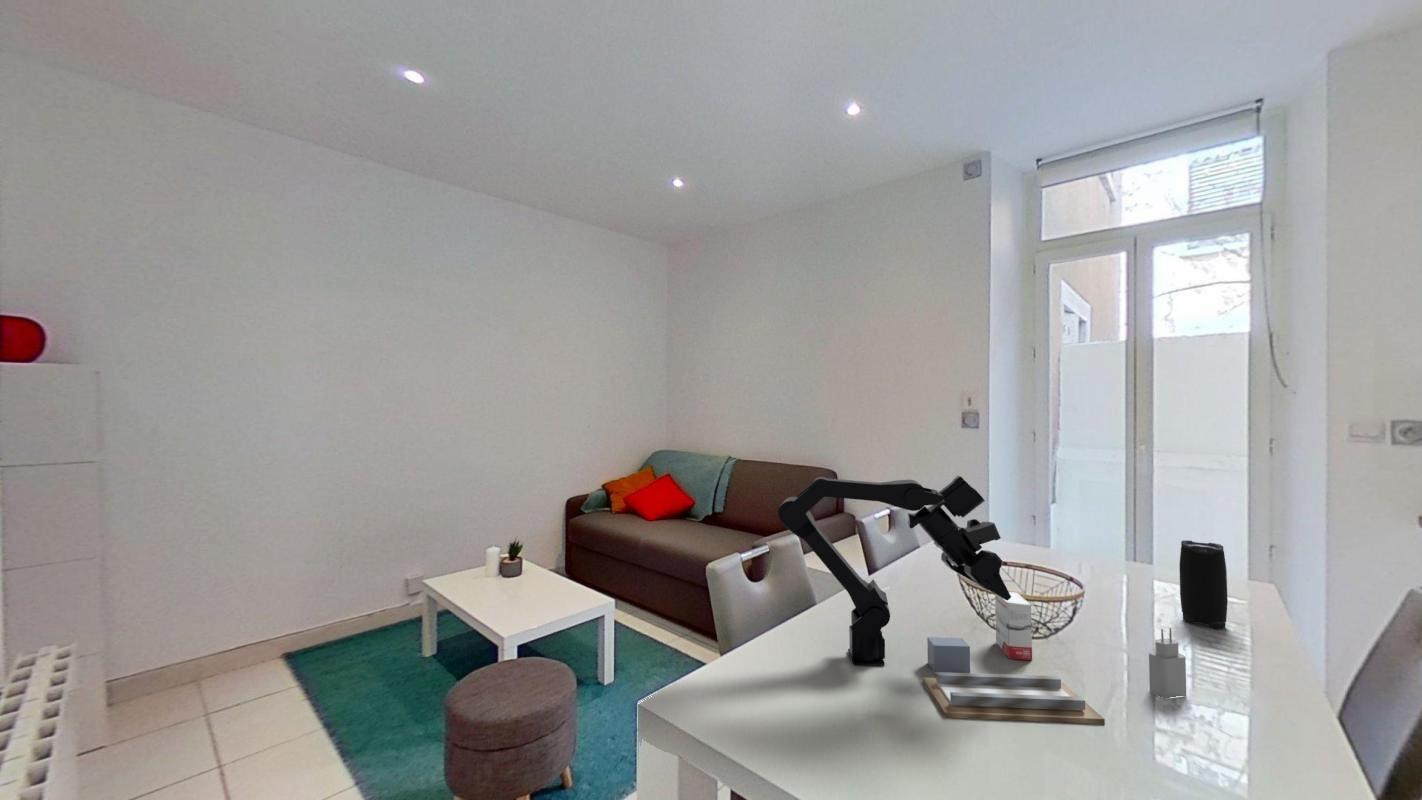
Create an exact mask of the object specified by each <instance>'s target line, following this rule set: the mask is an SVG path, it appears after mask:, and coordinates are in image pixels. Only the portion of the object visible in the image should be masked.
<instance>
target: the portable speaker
mask: <svg viewBox="0 0 1422 800" xmlns="http://www.w3.org/2000/svg"><path fill="white" fill-rule="evenodd" d="M1180 544H1181V545H1180V554H1179V566H1178V567H1179V596H1180V597H1179V598H1180V606H1181V612H1182V620H1183V621H1184V622H1185V623H1188V624H1189V625H1193V624H1195V623H1198V624H1201V625H1206V626H1209V628H1210V629H1212V630H1223V629H1225V628H1226V623H1227V614H1228V599H1229V598H1228V577H1227V576H1228V575H1227V573H1228V571H1227V563H1226V557H1225V551H1224V546H1223V545H1221V544H1219V543H1215V542H1208V543H1207V542H1206V543H1205V542H1198V541H1197V542H1196V541H1192V540H1189V539H1188V540H1181V541H1180Z"/></svg>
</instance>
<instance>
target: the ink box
mask: <svg viewBox="0 0 1422 800" xmlns="http://www.w3.org/2000/svg"><path fill="white" fill-rule="evenodd" d="M1008 592H1009V594H1010V595H1011V598H1010V599H1009V600H1005V599H1003V598H1002V597H1000V596H998V595H997V594H995V593H994V600H995V601H994V602H995V604H994V606H995V609H994V611H995V643H996V644H997V645H998V646H999V648H1000V649H1001V650H1002V652H1003V653H1004V655H1006V657H1007V658H1008V659H1012V660H1024V661H1025V660H1026V661H1033V646H1032V645H1033V643H1032V642H1033V640H1032V638H1033V637H1032V632H1033V631H1032V605H1031V603H1029V602H1028V601H1027V600H1026V599H1025V598H1024V597H1022V596H1021V595H1020V594H1019V593H1018V592H1013V591H1012V592H1011V591H1008Z"/></svg>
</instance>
